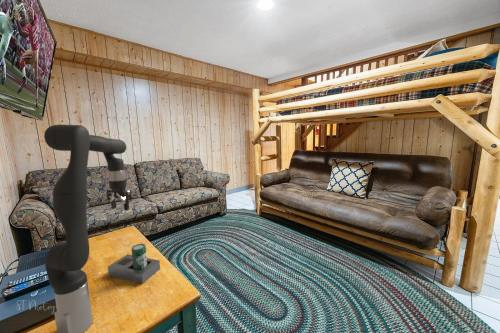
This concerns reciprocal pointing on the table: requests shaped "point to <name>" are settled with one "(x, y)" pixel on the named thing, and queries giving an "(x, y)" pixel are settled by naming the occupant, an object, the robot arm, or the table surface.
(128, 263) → the block with square hole
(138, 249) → the can
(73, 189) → the robot arm
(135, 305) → the table surface
